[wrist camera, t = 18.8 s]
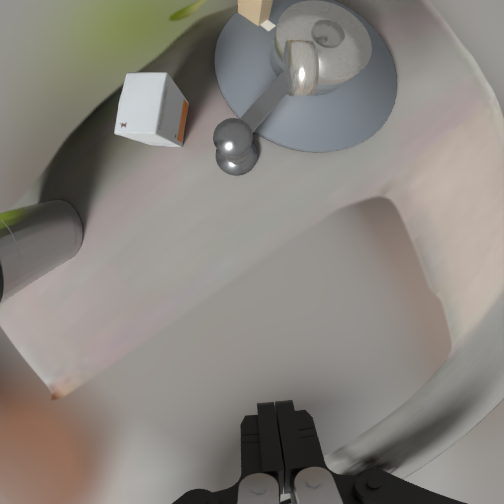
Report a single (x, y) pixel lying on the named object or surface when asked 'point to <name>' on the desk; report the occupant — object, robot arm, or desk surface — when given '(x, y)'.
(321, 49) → the cover
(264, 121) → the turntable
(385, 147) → the desk surface
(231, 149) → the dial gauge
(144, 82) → the skincare box
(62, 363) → the desk surface
